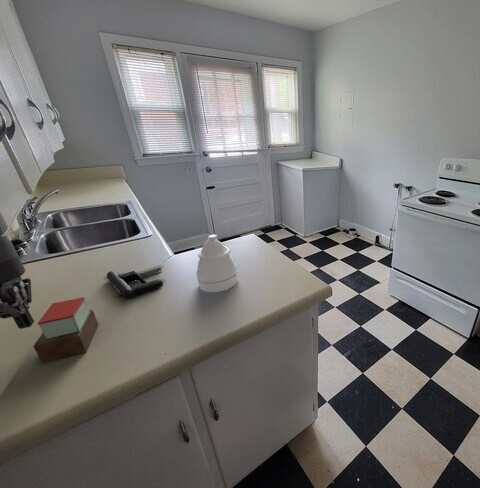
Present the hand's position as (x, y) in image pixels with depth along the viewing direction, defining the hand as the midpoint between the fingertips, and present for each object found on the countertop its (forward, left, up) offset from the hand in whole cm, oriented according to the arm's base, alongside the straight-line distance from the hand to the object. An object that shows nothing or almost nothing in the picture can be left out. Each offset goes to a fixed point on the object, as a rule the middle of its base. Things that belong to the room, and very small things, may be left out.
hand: (27, 325), depth 62 cm
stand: (+6, 0, -8) cm, 10 cm away
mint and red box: (+7, 0, -2) cm, 7 cm away
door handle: (+17, +27, -8) cm, 33 cm away
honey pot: (+42, +15, -8) cm, 45 cm away
